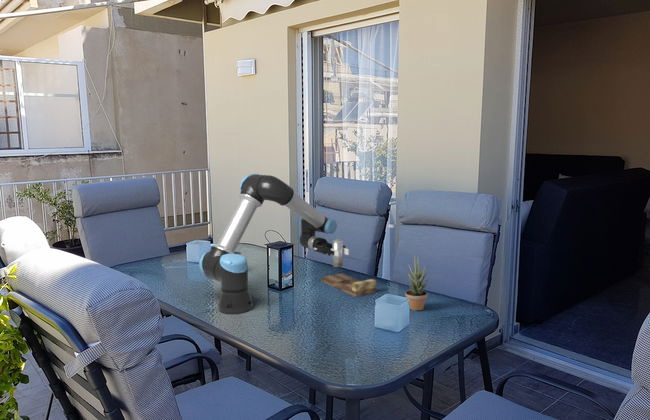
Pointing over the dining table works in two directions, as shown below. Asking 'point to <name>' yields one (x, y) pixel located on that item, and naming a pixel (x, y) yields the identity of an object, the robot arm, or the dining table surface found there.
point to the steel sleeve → (338, 245)
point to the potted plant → (417, 288)
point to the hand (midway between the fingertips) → (343, 253)
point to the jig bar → (350, 284)
